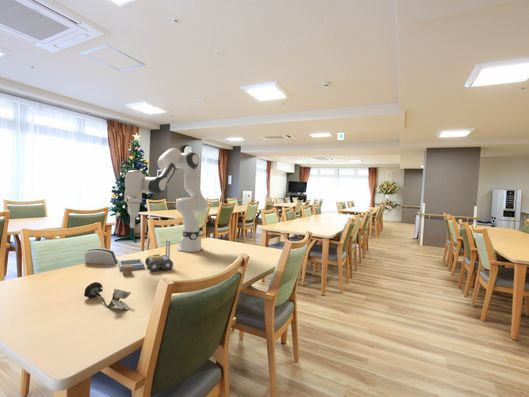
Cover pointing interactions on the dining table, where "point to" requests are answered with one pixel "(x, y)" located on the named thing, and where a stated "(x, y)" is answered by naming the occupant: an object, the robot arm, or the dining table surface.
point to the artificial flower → (95, 289)
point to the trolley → (160, 260)
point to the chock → (127, 269)
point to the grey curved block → (100, 256)
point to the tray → (135, 264)
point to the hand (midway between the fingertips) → (132, 223)
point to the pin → (131, 224)
